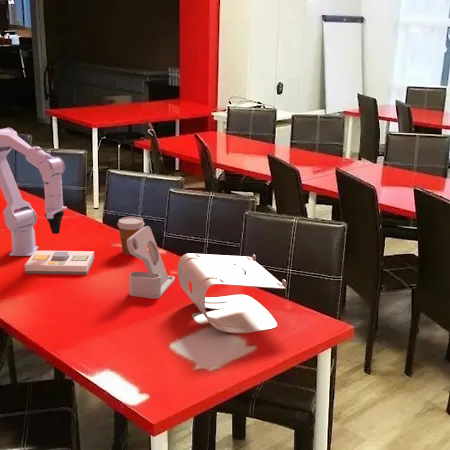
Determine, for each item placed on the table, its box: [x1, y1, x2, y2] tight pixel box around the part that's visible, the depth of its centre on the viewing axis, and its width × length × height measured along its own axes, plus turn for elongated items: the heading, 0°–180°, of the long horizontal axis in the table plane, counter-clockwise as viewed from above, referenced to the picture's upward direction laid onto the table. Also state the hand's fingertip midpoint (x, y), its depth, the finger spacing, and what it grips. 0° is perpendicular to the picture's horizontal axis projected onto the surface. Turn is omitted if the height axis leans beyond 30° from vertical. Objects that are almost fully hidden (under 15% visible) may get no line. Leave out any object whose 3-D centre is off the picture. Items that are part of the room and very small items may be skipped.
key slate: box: [52, 252, 68, 261], centre depth 216 cm, size 4×4×2 cm
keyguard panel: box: [24, 250, 95, 275], centre depth 217 cm, size 14×20×3 cm
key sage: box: [72, 255, 88, 261], centre depth 217 cm, size 4×4×2 cm
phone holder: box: [127, 225, 176, 299], centre depth 200 cm, size 17×10×18 cm, turn 166°
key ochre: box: [32, 255, 49, 261], centre depth 217 cm, size 4×4×2 cm
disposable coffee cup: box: [117, 216, 145, 256], centre depth 231 cm, size 10×10×12 cm
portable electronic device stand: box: [177, 252, 287, 334], centre depth 182 cm, size 26×24×16 cm
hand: (55, 233), depth 218 cm, fingers closed
